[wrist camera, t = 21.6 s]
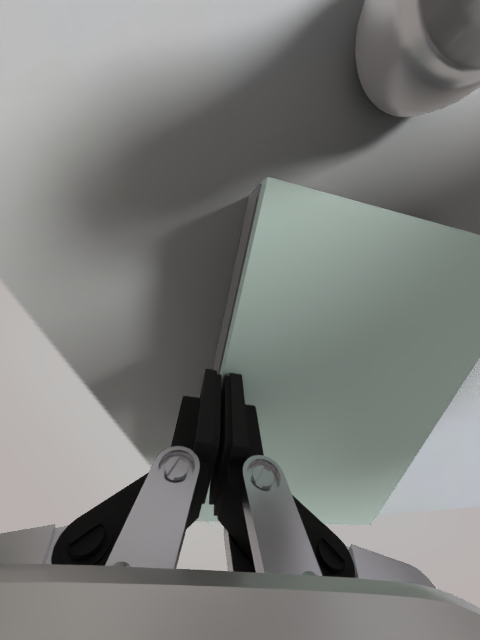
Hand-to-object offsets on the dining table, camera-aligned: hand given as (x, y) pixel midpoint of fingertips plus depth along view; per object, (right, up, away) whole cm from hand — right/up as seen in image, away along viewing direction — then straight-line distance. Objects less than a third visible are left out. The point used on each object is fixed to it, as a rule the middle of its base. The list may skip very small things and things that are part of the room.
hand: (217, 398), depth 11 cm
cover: (+6, 0, +2) cm, 6 cm away
